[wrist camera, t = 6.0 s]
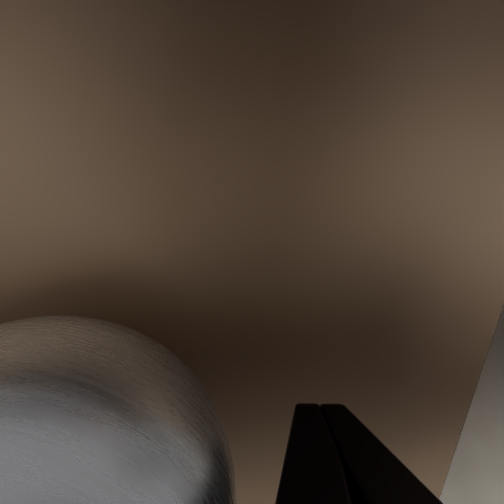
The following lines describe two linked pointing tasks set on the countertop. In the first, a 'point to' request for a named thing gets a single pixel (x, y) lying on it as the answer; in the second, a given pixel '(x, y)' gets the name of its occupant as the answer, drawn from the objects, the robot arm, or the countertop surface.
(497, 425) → the countertop surface
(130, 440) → the ball
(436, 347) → the deck
